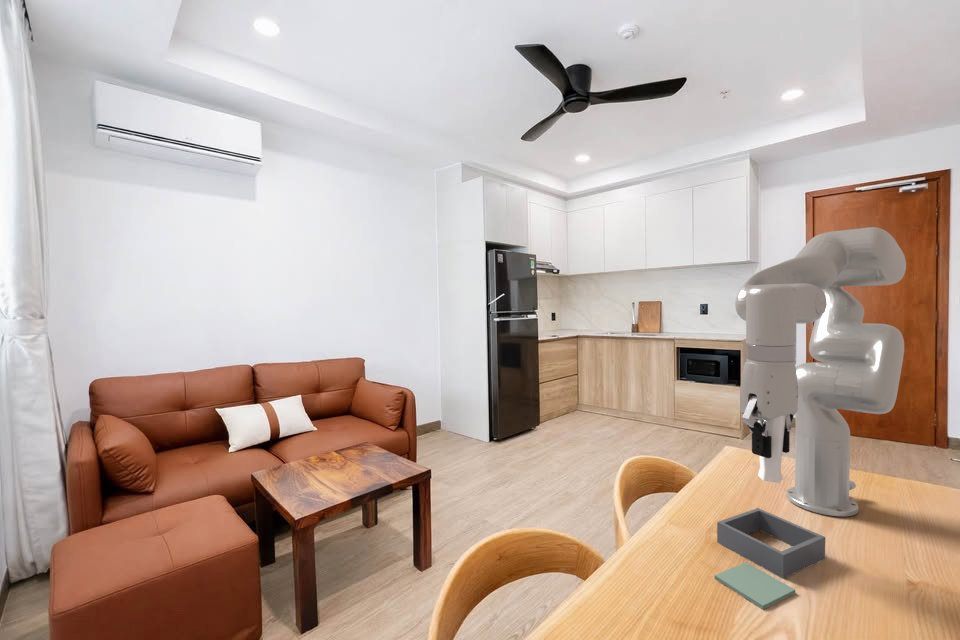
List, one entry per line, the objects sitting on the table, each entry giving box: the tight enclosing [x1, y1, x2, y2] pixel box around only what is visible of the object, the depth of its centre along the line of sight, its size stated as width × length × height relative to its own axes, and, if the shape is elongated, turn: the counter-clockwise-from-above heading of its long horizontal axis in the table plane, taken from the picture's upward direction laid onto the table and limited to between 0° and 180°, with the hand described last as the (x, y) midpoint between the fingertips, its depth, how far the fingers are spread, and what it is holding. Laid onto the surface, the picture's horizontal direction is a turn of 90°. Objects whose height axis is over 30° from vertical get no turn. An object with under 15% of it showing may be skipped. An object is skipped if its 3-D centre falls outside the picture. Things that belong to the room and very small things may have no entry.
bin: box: [716, 507, 826, 579], centre depth 80 cm, size 12×12×4 cm
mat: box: [714, 561, 796, 610], centre depth 70 cm, size 8×8×1 cm
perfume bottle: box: [757, 413, 785, 484], centre depth 79 cm, size 5×4×15 cm
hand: (770, 452), depth 79 cm, fingers closed on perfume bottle, 4 cm apart
